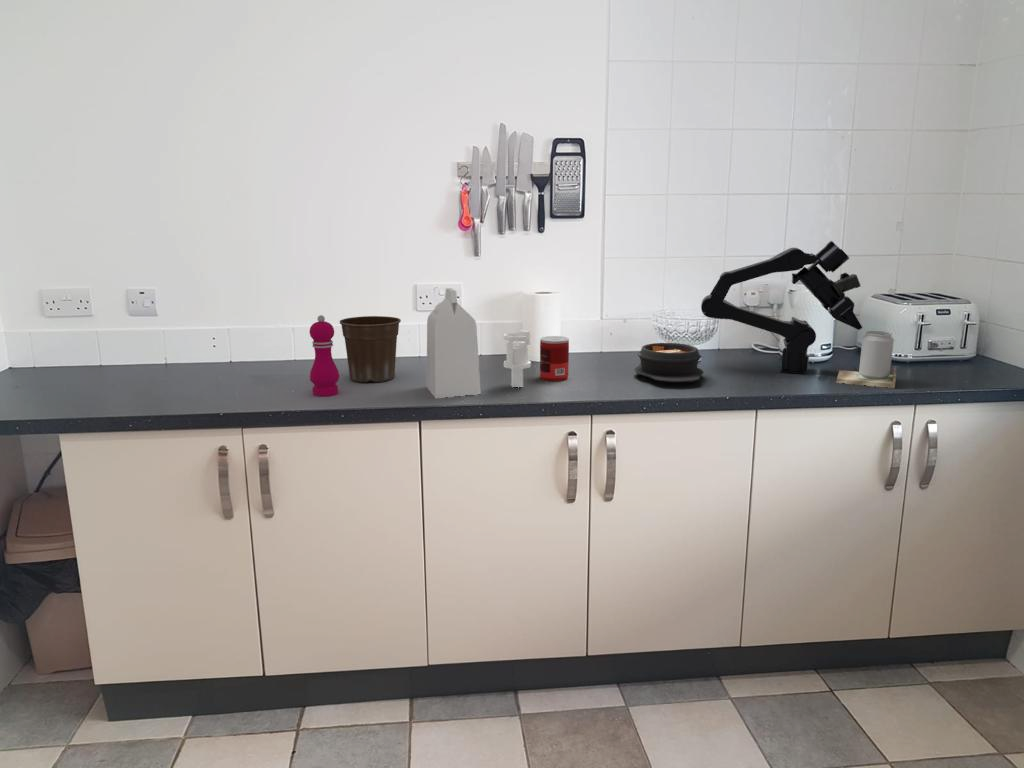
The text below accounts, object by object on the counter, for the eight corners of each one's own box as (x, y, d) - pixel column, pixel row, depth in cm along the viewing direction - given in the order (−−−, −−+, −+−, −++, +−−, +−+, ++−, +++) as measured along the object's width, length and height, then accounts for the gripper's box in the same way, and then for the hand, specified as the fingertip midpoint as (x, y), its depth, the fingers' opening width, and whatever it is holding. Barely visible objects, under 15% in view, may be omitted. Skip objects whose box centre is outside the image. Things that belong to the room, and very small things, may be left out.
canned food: (572, 376, 219) (573, 337, 216) (561, 382, 212) (562, 342, 209) (546, 373, 222) (547, 335, 219) (535, 379, 215) (535, 339, 212)
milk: (480, 395, 199) (479, 291, 193) (435, 398, 196) (432, 293, 190) (469, 384, 211) (467, 286, 204) (426, 387, 207) (423, 287, 201)
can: (890, 380, 207) (895, 335, 204) (859, 378, 209) (863, 333, 206) (888, 374, 213) (893, 330, 211) (857, 372, 216) (862, 329, 213)
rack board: (836, 382, 211) (837, 371, 210) (839, 374, 220) (840, 363, 219) (894, 388, 205) (896, 376, 204) (895, 379, 214) (896, 367, 214)
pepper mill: (313, 390, 204) (308, 313, 200) (341, 389, 205) (337, 312, 200) (308, 397, 197) (303, 317, 193) (338, 396, 198) (333, 317, 193)
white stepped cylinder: (522, 391, 203) (522, 333, 199) (498, 387, 206) (498, 331, 203) (535, 385, 209) (535, 329, 205) (512, 382, 212) (511, 326, 209)
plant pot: (369, 369, 228) (366, 313, 224) (414, 375, 220) (412, 318, 217) (330, 380, 215) (326, 321, 211) (376, 388, 207) (374, 326, 203)
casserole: (626, 368, 229) (626, 339, 227) (689, 367, 230) (691, 338, 228) (644, 389, 205) (645, 357, 203) (715, 388, 206) (717, 356, 204)
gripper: (848, 267, 205) (889, 311, 206) (837, 260, 223) (875, 301, 223) (813, 296, 209) (854, 339, 209) (805, 288, 227) (843, 327, 227)
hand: (857, 325), depth 217 cm, fingers open, 9 cm apart
